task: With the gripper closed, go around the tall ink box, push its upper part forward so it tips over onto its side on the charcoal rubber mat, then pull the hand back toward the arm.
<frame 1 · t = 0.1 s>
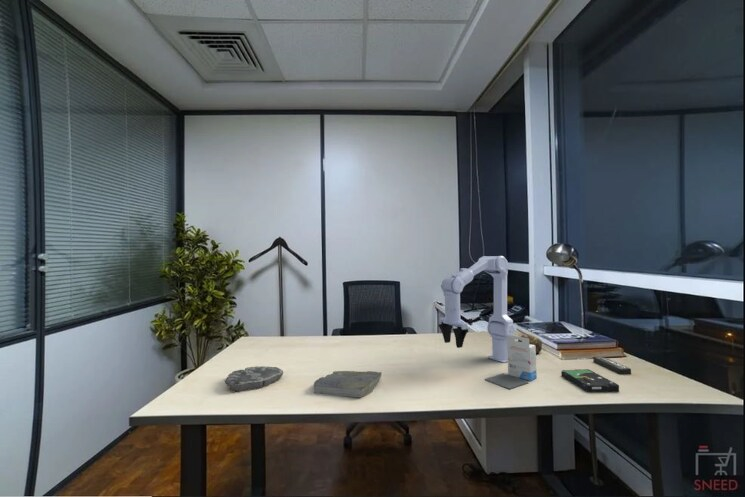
hand: (453, 344, 124), 10 cm above the table, tool pointing down, fingers open, 7 cm apart
mat: (506, 381, 113), on the table
disk drive: (588, 385, 111), on the table
fossil: (347, 387, 111), on the table
ink box: (522, 377, 118), on the table
multiport hub: (611, 369, 126), on the table
brain slice: (252, 383, 116), on the table
seashell: (529, 352, 148), on the table
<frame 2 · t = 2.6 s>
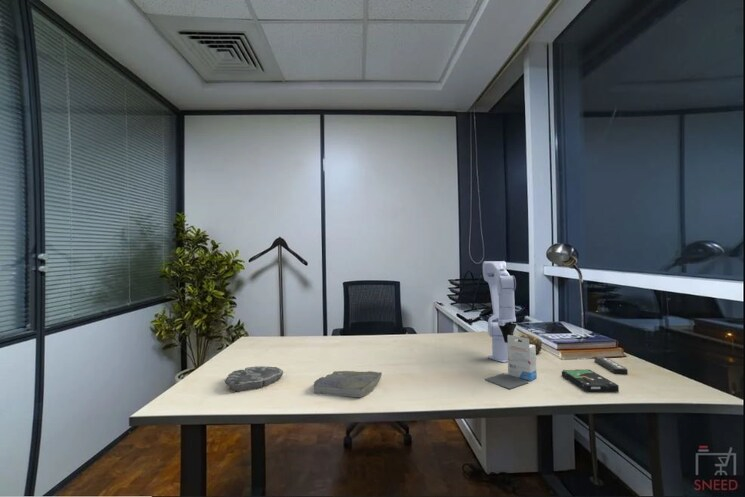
hand: (508, 342, 125), 10 cm above the table, tool pointing down, fingers closed
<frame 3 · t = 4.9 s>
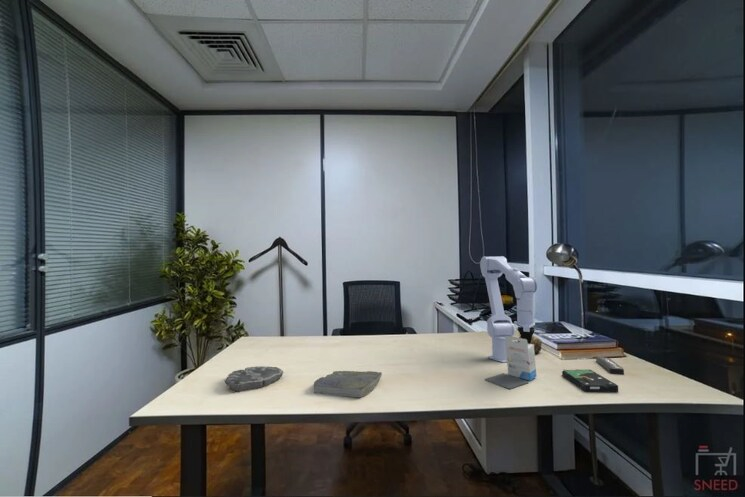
hand: (526, 347, 119), 10 cm above the table, tool pointing down, fingers closed
ink box: (522, 376, 118), on the table, touching gripper
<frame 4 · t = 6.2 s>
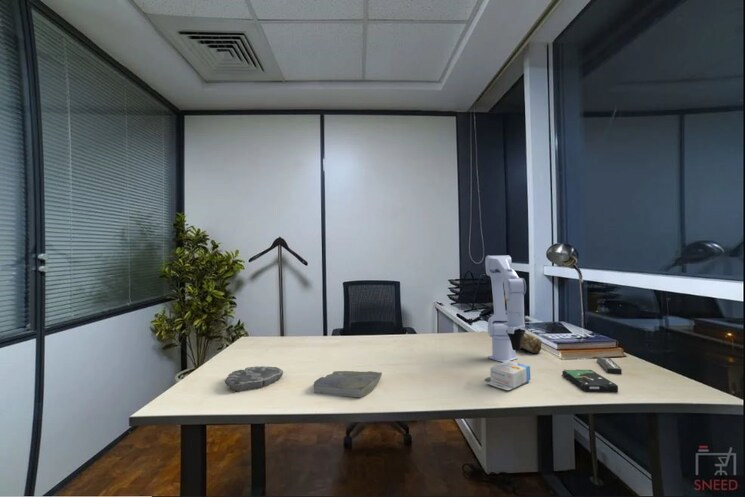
hand: (516, 350, 116), 10 cm above the table, tool pointing down, fingers closed
ink box: (519, 369, 116), point 3 cm above the table, touching mat
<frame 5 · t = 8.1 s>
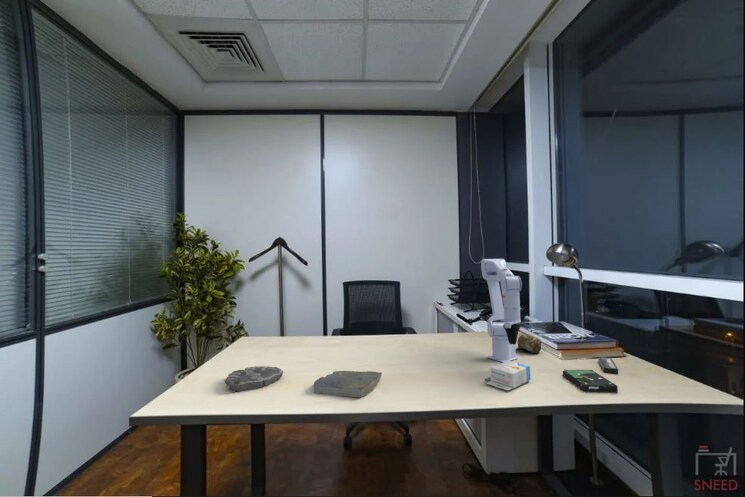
hand: (512, 343, 123), 10 cm above the table, tool pointing down, fingers closed
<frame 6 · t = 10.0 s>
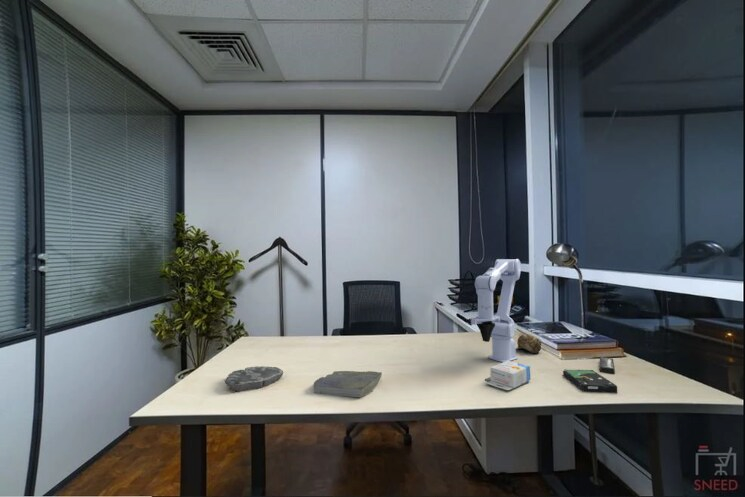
hand: (486, 341, 127), 10 cm above the table, tool pointing down, fingers closed
at the end: ink box tilted 90°; ink box 6.9 cm from the mat (horizontally); ink box touching mat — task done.
